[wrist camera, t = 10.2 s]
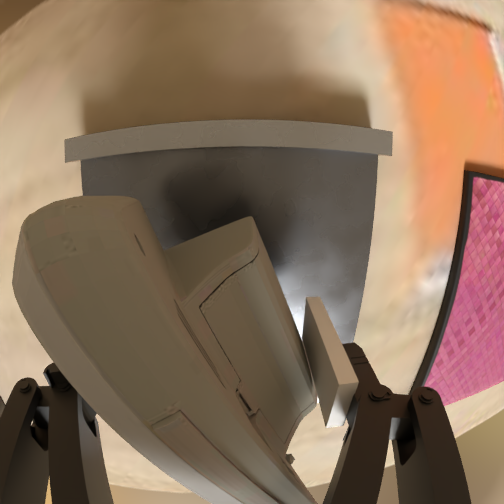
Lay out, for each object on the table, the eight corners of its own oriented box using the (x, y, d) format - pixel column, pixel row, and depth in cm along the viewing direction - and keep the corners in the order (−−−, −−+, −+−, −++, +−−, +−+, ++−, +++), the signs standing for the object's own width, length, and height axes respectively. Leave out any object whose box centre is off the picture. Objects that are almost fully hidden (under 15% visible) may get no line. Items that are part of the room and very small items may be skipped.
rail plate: (128, 376, 24) (119, 397, 21) (87, 139, 17) (64, 139, 14) (339, 376, 24) (348, 398, 21) (372, 133, 17) (392, 131, 14)
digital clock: (101, 188, 13) (-74, 264, 3) (277, 147, 13) (384, 130, 3) (186, 412, 18) (166, 540, 8) (309, 397, 18) (339, 532, 8)
